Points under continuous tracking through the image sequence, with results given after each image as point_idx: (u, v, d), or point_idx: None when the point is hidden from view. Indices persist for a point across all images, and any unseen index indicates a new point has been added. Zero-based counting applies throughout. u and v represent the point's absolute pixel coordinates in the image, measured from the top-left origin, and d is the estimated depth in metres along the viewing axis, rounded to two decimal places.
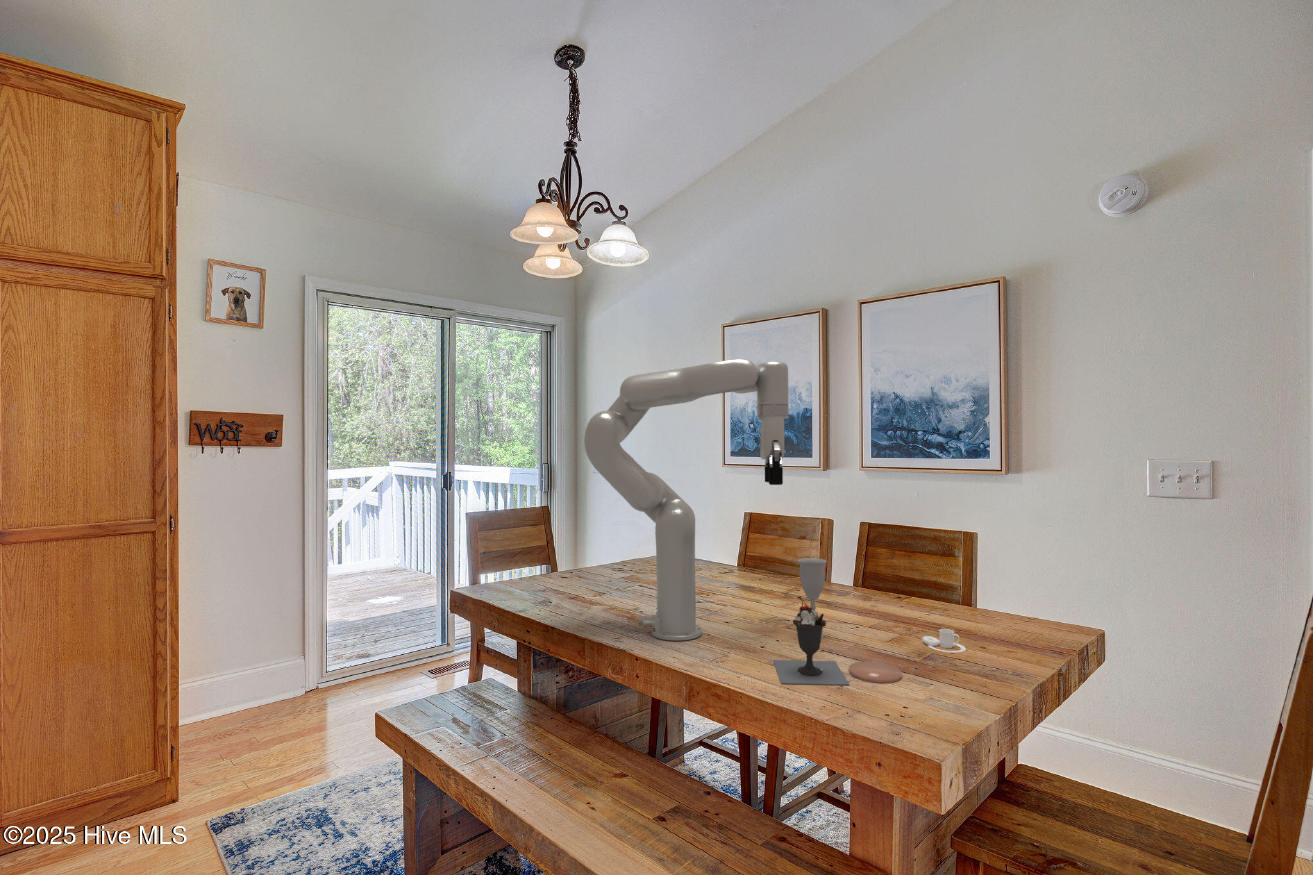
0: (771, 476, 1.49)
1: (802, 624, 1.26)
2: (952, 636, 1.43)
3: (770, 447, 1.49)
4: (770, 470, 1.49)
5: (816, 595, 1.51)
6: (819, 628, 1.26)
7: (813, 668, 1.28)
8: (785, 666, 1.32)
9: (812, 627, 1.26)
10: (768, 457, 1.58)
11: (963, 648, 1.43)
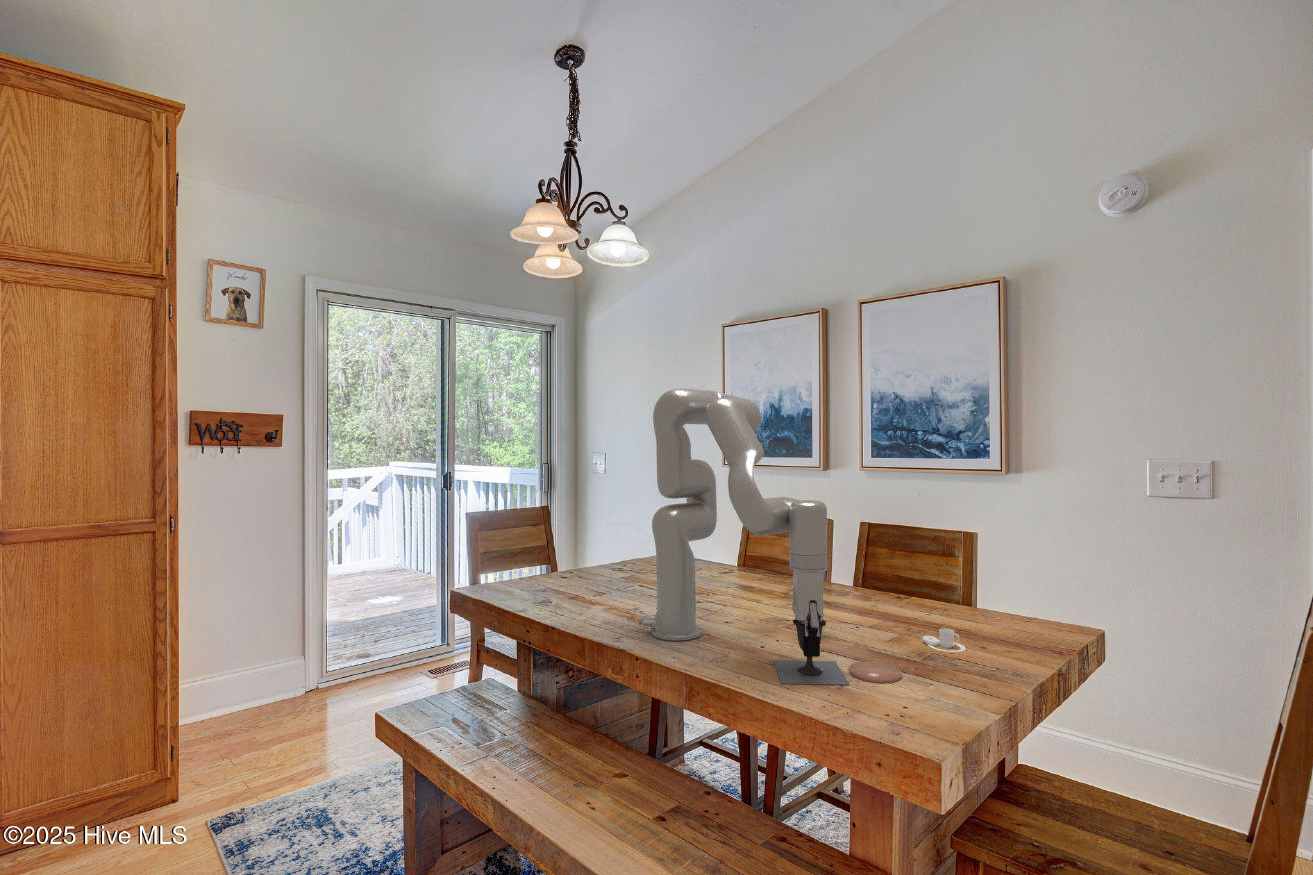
0: (806, 646, 1.26)
1: (802, 623, 1.27)
2: (952, 635, 1.43)
3: (807, 609, 1.24)
4: (805, 639, 1.26)
5: None
6: (819, 628, 1.26)
7: (813, 668, 1.28)
8: (785, 666, 1.32)
9: None
10: None
11: (963, 648, 1.43)
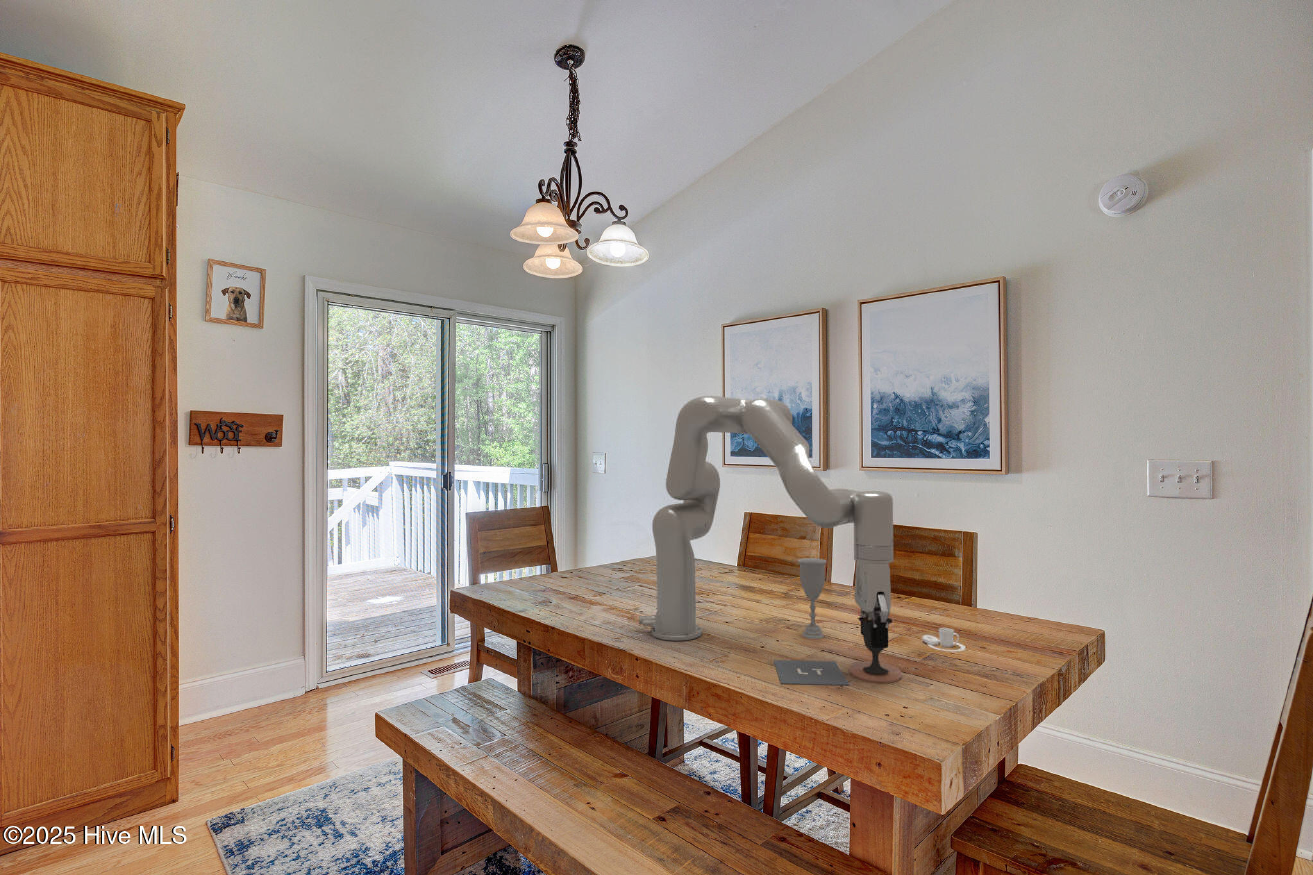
0: (874, 637, 1.23)
1: (869, 620, 1.25)
2: (952, 635, 1.43)
3: (874, 600, 1.23)
4: (873, 630, 1.24)
5: (816, 595, 1.51)
6: None
7: (879, 667, 1.25)
8: (785, 666, 1.32)
9: None
10: None
11: (963, 647, 1.43)
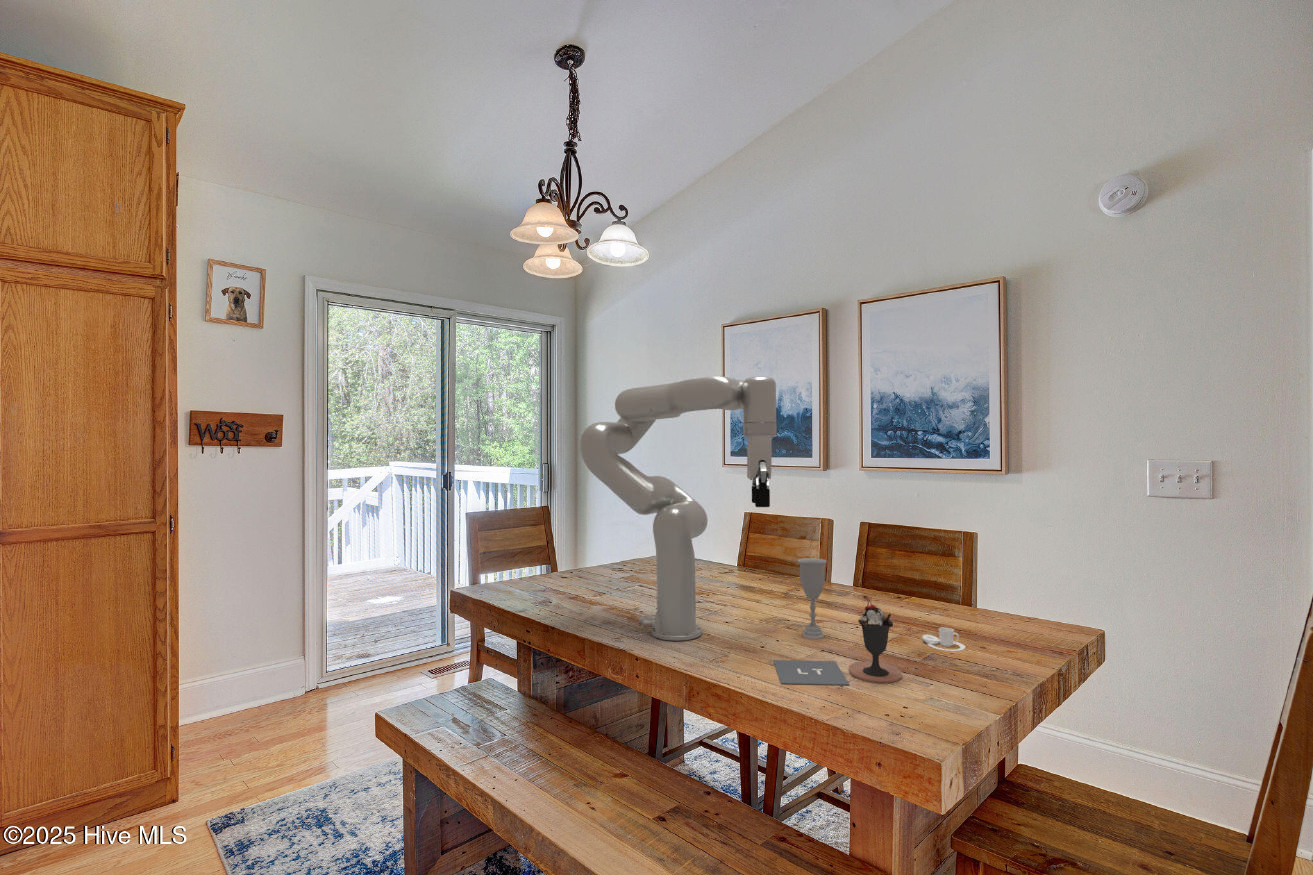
0: (757, 498, 1.41)
1: (869, 624, 1.24)
2: (952, 634, 1.44)
3: (756, 467, 1.41)
4: (756, 492, 1.41)
5: (816, 595, 1.51)
6: (886, 628, 1.24)
7: (880, 669, 1.25)
8: (785, 666, 1.32)
9: (880, 627, 1.23)
10: (755, 477, 1.50)
11: (962, 647, 1.43)
